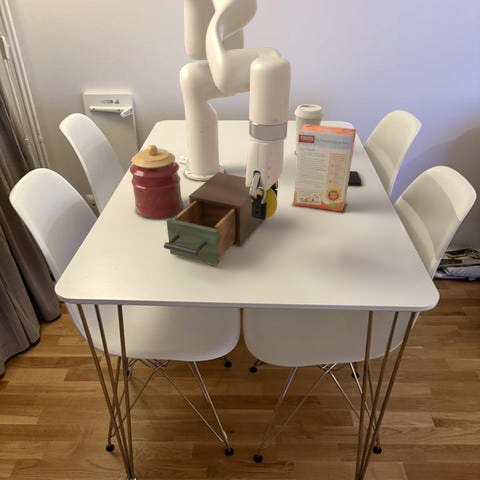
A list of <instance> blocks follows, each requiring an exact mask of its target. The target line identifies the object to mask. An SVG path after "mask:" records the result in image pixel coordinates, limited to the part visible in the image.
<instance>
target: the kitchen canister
mask: <svg viewBox="0 0 480 480" xmlns="http://www.w3.org/2000/svg"><path fill="white" fill-rule="evenodd" d="M131 163H132V164H131V165H130V167H129V172H130V174H131V175H132V178H131V184H132V189H133V196H134V206H135V209H136V212H137V213H138V214H139V215H140V216H142V217H145V218H148V219H166V218H170V217H173V216H175V215H176V214H177V215H178V214H179V213H180V212H181V210H182V207H183V206H182V205H183V198H182V191H181V177H180V175H179V173H178V171H179V170H180V164H179V162H177V161H176V155H174V153H172V152H170V151H168V150H166V149H163V148H158V147H157V145H155V144H149V145H148V146H147V148H146V149H142V150H139V151H138V152H137V153H136V154H135V155H134V156H132V158H131Z"/></svg>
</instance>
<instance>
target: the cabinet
mask: <svg viewBox="0 0 480 480" xmlns="http://www.w3.org/2000/svg"><path fill="white" fill-rule="evenodd" d="M259 187H263V186H262V185H259ZM250 188H251V187H249V188H247V187H246V176H240V175H234V174H230V173H225V172H224V173H219V172H217V173H216V174H215V175H214V176H213V177H211V178H210V179H209V180H206V181H204V183H203V184H201V185H200V186H199V187H198V188H196V189H195V190H194V191H193V192H192V193H190V194H189V195H188V202H189V203H188V204H189V205H190V204H191V203H192V202H194V201H195V200H197V201H202V202H206V203H211V204H216V205H221V206H225V207H230V208H235V209H237V239H236V240H235V241H234V242H233V243H232V245H235V246H239V247H240V246H242V244H243V243H244V242H245V241H246V240H247V238H248V237H249V236H250V235H251V234H252V233H253V231H254V230H255V229H256V228H257V227H258V226H259V225H260V223H261V222H262V221H263V220H262V219H257V218H253V217H252V201H251V197H250V196H249V192H250Z"/></svg>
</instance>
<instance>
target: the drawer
mask: <svg viewBox="0 0 480 480" xmlns="http://www.w3.org/2000/svg"><path fill="white" fill-rule="evenodd" d="M166 227H167V229H166V230H167V235H168V236H167V237H168V242H167V241H165V242H164V244H163V248H164V249H166V250H169V254H170V255H174V256H178V257H181V258H185V259H189V260H193V261H196V262H200V263H203V264H208V265H212V266H216V267H217V266H218V265H220V258H221V257H222V256H223V255H224V254H225V252H226V251H227V250H228V249H229V248H230V247H231V246H232V245H233V244H232V243H233V242H234V241H235V240H236V239H237V209H235V208H230V207H225V206H221V205H216V204H211V203H206V202H202V201H197V200H195V201H194V202H192V203H191V204H189V205H188V206H186V207H185V208H184V209H183V210H182V211H180V212H178V213H177V215H176V216H175V217H174V218H170V217H168V219H167V220H166Z"/></svg>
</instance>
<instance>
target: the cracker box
mask: <svg viewBox="0 0 480 480" xmlns="http://www.w3.org/2000/svg"><path fill="white" fill-rule="evenodd" d="M356 133H357V129H356V128H348V127H337V126H329V125H320V126H319V125H309V124H304V125H303V126H302V128H301V129H300V130H299V139H298V151H297V154H296V165H295V177H294V188H293V189H294V191H293V205H294V206H299V207H306V208H313V209H320V210H327V211H332V212H333V211H334V212H343V210H344V208H345V204H346V201H347V193H348V187H349V185H348V182H349V175H350V171H351V168H352V161H353V154H354V147H355V142H356V141H355V140H356Z"/></svg>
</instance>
